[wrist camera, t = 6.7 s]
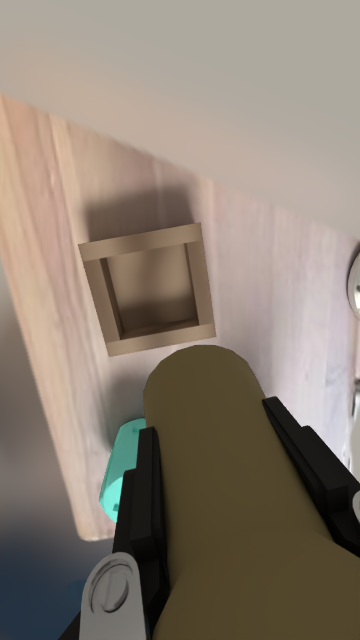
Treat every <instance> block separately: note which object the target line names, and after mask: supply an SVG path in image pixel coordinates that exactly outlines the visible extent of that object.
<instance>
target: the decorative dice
mask: <svg viewBox="0 0 360 640" xmlns="http://www.w3.org/2000/svg"><path fill="white" fill-rule="evenodd" d="M143 428H146V422H145V418H142V419H136V420H133V421H130V422H128V423H126V424H124V425H122V426H121V427H120V429H119V431H118V434H117V437H116V440H115V443H114V446H113V449H112V452H111V455H110V459H109V462H108V465H107V469H106V472H105V476H104V480H103V484H102V488H101V492H100V496H99V502H100V504H101V506H102V508H103V510H104V511H105V513H106V514H107V515H108V516H109V517H110V518H111V519H112V520H113V521H114V522H117V515H118V508H119V501H120V494H121V487H122V480H123V474H124V472H125V471H126V470H130V469H134V468H136V461H137V450H138V438H139V430H140V429H143Z"/></svg>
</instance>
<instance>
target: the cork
mask: <svg viewBox="0 0 360 640" xmlns="http://www.w3.org/2000/svg"><path fill="white" fill-rule="evenodd" d="M262 399H266V397H265V395H264V393H263V391H262V389H261V387H260V384H259V382H258V380H257V378H256V376H255V374H254V373H253V371H252V369H251V368H250V366H249V365H248V363H247V362H246V361H245V360H244V359H243V358H241V357H240V356H239V355H237V354H236V353H235V352H233V351H232V350H229V349H226V348H222V347H219V346H216V345H194V346H191V347H187V348H184V349H181V350H177V351H176V352H174V353H173V354H171V355H170V356H168V357H167V358H165V359H164V360H162V361H161V362H160V363H159V364H158V366H157V367H156V368H155V369H154V370H153V372H152V373H151V374H150V375H149V378H148V381H147V383H146V386H145V389H144V415H145V422H146V428H147V427H151V426H154V430H155V429H156V430H157V433H158V438H159V449H160V463H161V476H162V490H163V503H164V517H165V530H166V544H167V577H168V584H169V591H170V596H169V598H168V600H167V602H166V605H165V607H164V609H163V611H162V613H161V615H160V618H159V620H158V622H157V624H156V626H155V628H154V632H153V637H152V640H360V558H359V557H357V556H355V555H354V554H352V553H350V552H349V551H347V550H346V549H344V548H342V547H341V546H339V545H337V544H336V543H335V542H334V539H333V537H332V535H331V533H330V531H329V529H328V527H327V525H326V523H325V521H324V519H323V518H322V517H321V515H320V514H319V512H318V510H317V508H316V506H315V504H314V503H313V501H312V499H311V497H310V495H309V493H308V491H307V489H306V487H305V485H304V483H303V481H302V479H301V477H300V475H299V473H298V471H297V469H296V468H295V466H294V464H293V462H292V460H291V459H290V457H289V455H288V453H287V451H286V449H285V448H284V446H283V444H282V442H281V440H280V439H279V437H278V435H277V433H276V431H275V429H274V428H273V426H272V424H271V422H270V420H269V419H268V417H267V415H266V412H265V410H264V407H263V403H264V402H263V401H262Z"/></svg>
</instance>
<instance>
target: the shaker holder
mask: <svg viewBox="0 0 360 640" xmlns="http://www.w3.org/2000/svg"><path fill="white" fill-rule="evenodd" d="M78 247H79V250H80V254H81V258H82V261H83V265H84V268H85V272H86V276H87V279H88V283H89V286H90V290H91V294H92V297H93V301H94V304H95V308H96V312H97V315H98V319H99V323H100V326H101V330H102V333H103V337H104V341H105V344H106V348H107V351H108V355H109V357H111V356H117V355H122V354H127V353H133V352H138V351H143V350H149V349H154V348H159V347H165V346H170V345H175V344H181V343H186V342H191V341H197V340H202V339H207V338H213V337H216V331H215V323H214V316H213V309H212V302H211V295H210V288H209V280H208V273H207V266H206V259H205V252H204V245H203V238H202V230H201V223H195V224H189V225H183V226H178V227H172V228H167V229H161V230H156V231H150V232H144V233H139V234H133V235H128V236H122V237H116V238H111V239H105V240H100V241H94V242H89V243H83V244H78Z"/></svg>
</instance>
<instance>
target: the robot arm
mask: <svg viewBox="0 0 360 640" xmlns="http://www.w3.org/2000/svg"><path fill="white" fill-rule="evenodd" d="M348 297H349V302H350V305H351V308H352V310H353V311H354V313H355V315H356V316H357V317H358V318H359V319H360V252H359V254H358V256H357V257H356V259H355V261H354V264H353V266H352V268H351V271H350V275H349V279H348ZM262 401H263V402H264V403H263V407H264V410H265V412H266V415H267V417H268V419H269V420H270V422H271V424H272V426H273V428H274V429H275V431H276V433H277V435H278V437H279V439H280V440H281V442H282V444H283V446H284V448H285V449H286V451H287V453H288V455H289V457H290V459H291V460H292V462H293V464H294V466H295V468H296V469H297V471H298V473H299V475H300V477H301V479H302V481H303V483H304V485H305V487H306V489H307V491H308V493H309V495H310V497H311V499H312V501H313V503H314V504H315V506H316V508H317V510H318V512H319V514H320V515H321V517H322V518H323V519H324V521H325V523H326V525H327V527H328V529H329V531H330V533H331V535H332V537H333V539H334V542H335V543H336V544H337V545H339V546H341V547H342V548H344V549H346V550H347V551H349V552H350V553H352V554H354V555H355V556H357V557H359V558H360V483H359V482H358V481H357V480H356V479H355V477H354V476H353V475H352V474H351V473H350V472H349V470H348V469H347V468H346V467H345V466H344V465H343V463H342V462H341V461H340V460H339V459H338V458H337V457H336V455H335V454H334V453H333V452H332V451H331V450H330V448H329V447H328V446H327V445H326V444H325V443H324V441H323V440H322V439H321V438H320V437H319V436H318V435H317V433H316V432H315V431H314V430H313V429H312V428H311V427H310V426H308V425H307V426H303V427H301V426H300V425H299V423H298V422H297V421H296V420H295V419H294V417H293V416H292V415H291V414H290V412H289V411H288V410H287V409H286V407H285V406H284V405H283V404H282V402H281V401H280V400H279V399H278V398H277V397H276V396H274V397H270V398H266V399H262ZM169 596H170V591H169V584H168V577H167V544H166V530H165V517H164V503H163V490H162V476H161V463H160V449H159V438H158V433H157V430H156V429H155V430H154V426H151V427H147V428H143V429H140V430H139V438H138V450H137V461H136V468H134V469H130V470H126V471H125V472H124V474H123V480H122V487H121V494H120V501H119V508H118V515H117V522H116V529H115V536H114V543H113V550H112V554H110V555H109V556H107V557H106V558H104V559H103V560H102V561H101V562H100V563H99V564H98V565H97V566H96V567H95V568H94V570H93V571H92V573H91V574H90V576H89V578H88V580H87V582H86V585H85V587H84V591H83V597H82V606H81V611H80V612H79V613H78V615H77V616H76V617H75V619H74V620H73V621H72V622H71V624H70V625H69V626H68V627H67V629H66V630H65V631H64V633H63V634H62V635H61V636H60V638H59V639H58V640H152V637H153V632H154V628H155V626H156V624H157V622H158V620H159V618H160V615H161V613H162V611H163V609H164V607H165V605H166V602H167V600H168V598H169Z"/></svg>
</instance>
